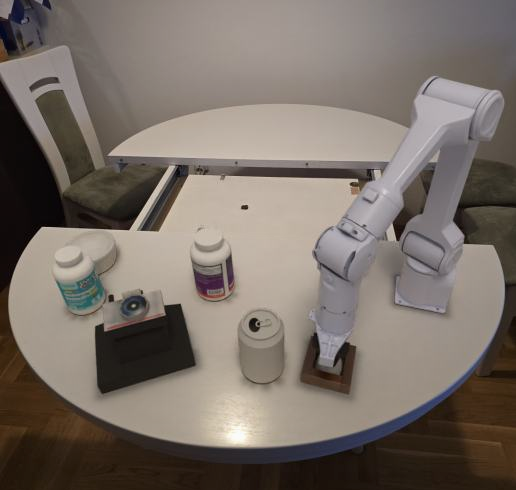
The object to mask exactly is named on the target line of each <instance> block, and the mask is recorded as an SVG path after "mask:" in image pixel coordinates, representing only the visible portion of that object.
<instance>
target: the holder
mask: <svg viewBox="0 0 516 490" xmlns="http://www.w3.org/2000/svg"><path fill="white" fill-rule="evenodd" d="M312 338H313V335H310V340H309V343H308V346H307V350H306V354H305V358H304V360H303V361H304V362H303V366H302V369H301V372H300V382H301V383H304V384H308V385H310V386H311V385H312V386H315V387H318V388H323V389H326V390H330V391H333V392H338V393H341V394H345V395H349V394H350V391H351V385H352V379H353V378H352V377H353V372H354V365H355V359H356V353H357V345H355V344H350V347H349V352H348V354H347V355H346V356H343V357H341V358H340V359H341V360H342V359H343V360H344V363H343V368H342V375H340V374H339V375H336V374H332V373H329V372H325V371H321V370H317V369H316V368H314V367H315V364H316V360H317V359H316V358H317V355H318V352H317V351H316V350H315V349H314V348H313V347H312Z"/></svg>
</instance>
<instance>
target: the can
mask: <svg viewBox="0 0 516 490" xmlns="http://www.w3.org/2000/svg"><path fill="white" fill-rule="evenodd" d="M237 341H238V342H237V343H238V351H239V360H240V361H239V362H240V367H241V372H242V374H243V375H244V376H245V378H246V379H248V380H249V381H251V382H254V383H257V384H267V383H271V382H273V381H275V380H277V379H278V378H279V377H280V376H281V374H282V373H283V371H284V368H285V324H284V322H283V320H282V319H281V317H280V315H278V314H277V312H276V311H274V310H272V309H270V308H268V307H256V308H255V307H254V308H252V309H250V310H248V311H247V312H245V314H243V316H242V318H241V319H240V320H239V323H238V324H237Z"/></svg>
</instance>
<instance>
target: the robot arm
mask: <svg viewBox="0 0 516 490" xmlns="http://www.w3.org/2000/svg"><path fill="white" fill-rule="evenodd" d="M505 103H506V102H505V99H504V96H503V94H502V92H501V91H500V90H498V89H488V88H484V87H479V86H476V85H471V84H467V83H463V82H459V81H455V80H450V79H447V78H442V77H441V76H439V75H432V76H430V77H429V78H427V80H425V81H424V82H423V83H422V85H421V86H420V87H419V89H418V91H417V92H416V95H415V98H414V99H413V102H412V106H411V110H410V112H411V113H410V124H411V125H410V127H409V128H408V130H407V131H406V133H405V135H404V137H403V138H402V140H401V141H400V144H399V145H398V146H397V148H396V150H395V152H394V153H393V155H392V157H391V159H390V160H389V162H388V163H387V166H386V167H385V169H384V170H383V172H382V174H381V176H380V177H379V178H378V179H375V180H370V181H367V182H366V183H365V184H364V185H363V187H362V189H361V190H360V192H358V194H357V196H356V197H355V198H354V199H353V201H352V202H351V204H350V206H349V207H348V208H347V210H346V211H345V213H344V214H343V215H342V216H341V218H340V219H339V221H338V222H337V224H336V225H331V226H328V227H326V228H325V229H324V230H323V231H322V232H321V233H320V234H319V235H318V238H317V239H316V242H315V245H314V248H313V249H312V251H311V255H312V258H313V260H314V261H316V269H317V270H318V272H319V284H318V293H317V296H318V297H317V306H316V309H315V308H314V309H310V310H309V313H308V322H311V323H313V324H314V325H315V330H316V332H315V331H314V332H313V335H312V336H313V338H312V347H313V348H314V349H315V350H316V351H317V354H318V356H320V358H319V364H320V365H324V366H328V367H333V368H334V367H335V366H336V364H337V363H338V361H339V359H342V358H341V357H343V356H346V355H347V354H348V352H349V347H350V345H351V342H349V341H347V340H348V339H349V337H350V336H351V335H352V333H353V332H354V330H355V327H356V315H357V309H358V304H359V303H358V302H359V299H360V291H361V286H362V281H363V278H364V276H365V275H366V274H368V271H369V270H370V269H371V267H372V266H373V264H374V263H375V259H376V257H377V253H378V251H379V250H380V248H381V245H382V244H381V242H380V241H381V239H382V238H383V237H384V235H385V234H386V232H387V231H388V229H389V228H390V226H391V225H392V224H393V222H394V221H395V220H396V218H397V216H398V215H399V214H400V213H401V211H402V210H403V208H404V206H405V204H404V203H405V202H404V196H403V193H404V192H405V191H406V190H407V189H408V188H409V186H410V185H411V184H412V183H413V181H414V180H415V179H416V178H417V177H418V175H419V174H420V173H421V172H422V171H423V170H424V169H425V167H426V166H427V165H428V164H429V162H430V161H432V159H433V158H434V157H435V155H436V154H438V152H439V154H438V157H437V161H436V165H435V168H434V171H433V175H432V179H431V183H430V186H429V189H428V194H427V197H426V201H425V205H424V208H423V212H422V213H420V214H417V215H414V216H413V217H412V218H411V219H409V220H408V222H406V224H405V228H404V230H403V231H402V233H401V236H400V237H399V241H398V249H399V251H400V252H402V258H403V259H404V262H403V266H402V270H401V274H400V275H397V276H396V277H395V290H394V291H395V292H394V304H396V305H398V306H399V305H400V306H404V307H409V308H415V309H419V310H424V311H429V312H433V313H439V314H446V311H447V306H448V304H449V301H450V298H451V297H452V293H453V291H454V288H455V284H456V280H457V279H456V278H457V264H458V262H459V261H460V259H461V257H462V255H463V251H464V250H463V249H464V247H463V246H464V242H465V237H466V236H465V234H464V233H463V232H462V230H461V229H460V228H459V227H458V225H457V224H456V223H455V222H454V218H455V214H456V212H457V208H458V206H459V203H460V200H461V196H462V194H463V191H464V188H465V184H466V182H467V180H468V176H469V173H470V169H471V167H472V163H473V161H474V157H475V155H476V152H477V149H478V146H479V144H480V141H481V142H491V141H492V139H493V137H494V135H495V133H496V130H497V127H498V125H499V122H500V120H501V116H502V114H503V111H504V107H505Z"/></svg>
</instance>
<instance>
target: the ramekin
mask: <svg viewBox="0 0 516 490" xmlns="http://www.w3.org/2000/svg"><path fill="white" fill-rule="evenodd" d="M66 246H77V247H79V248H80V249H81V252H82V253H84V254H87V255H89V256H90V257H91V258H92V260H93V262H94V265H95V267H96V270H97V273H98V275H100V274H103V273H104V272H106V271H108V270H109V269H110V268H111V267H112V266H113V265H114V264H115V263H116V259H117V248H116V240H115V237H114V235H113V233H111V232H109V231H106V230H101V229H94V230H93V229H92V230H88V231H84V232H81V233H79V234H76V235H75V236H73V237H72V238H71V239H69V240H68V241H67V242H66V244H65V245H64V247H66Z"/></svg>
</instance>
